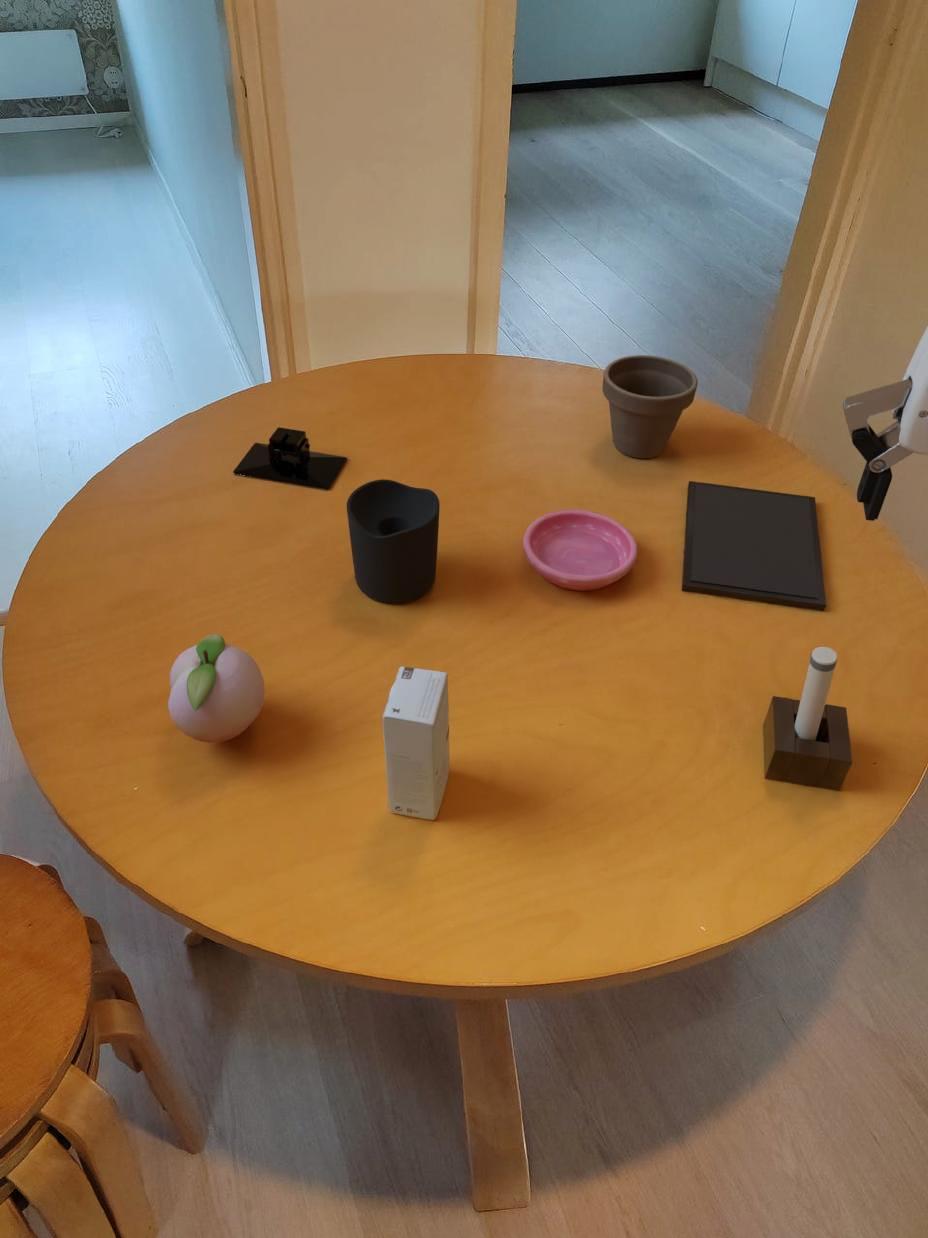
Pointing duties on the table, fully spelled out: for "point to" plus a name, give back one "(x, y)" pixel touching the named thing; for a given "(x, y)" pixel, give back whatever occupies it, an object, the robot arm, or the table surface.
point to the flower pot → (646, 401)
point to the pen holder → (393, 540)
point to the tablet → (753, 546)
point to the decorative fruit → (215, 690)
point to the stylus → (815, 692)
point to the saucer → (579, 549)
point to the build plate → (291, 461)
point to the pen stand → (806, 747)
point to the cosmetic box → (417, 742)
